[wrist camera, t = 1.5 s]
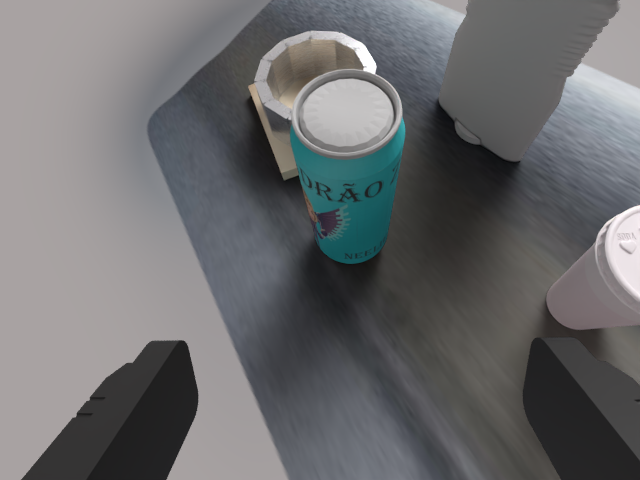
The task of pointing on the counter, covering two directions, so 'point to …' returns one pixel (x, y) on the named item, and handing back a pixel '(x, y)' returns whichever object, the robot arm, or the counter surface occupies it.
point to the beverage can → (348, 159)
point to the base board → (279, 148)
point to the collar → (304, 70)
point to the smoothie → (602, 279)
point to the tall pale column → (516, 67)
